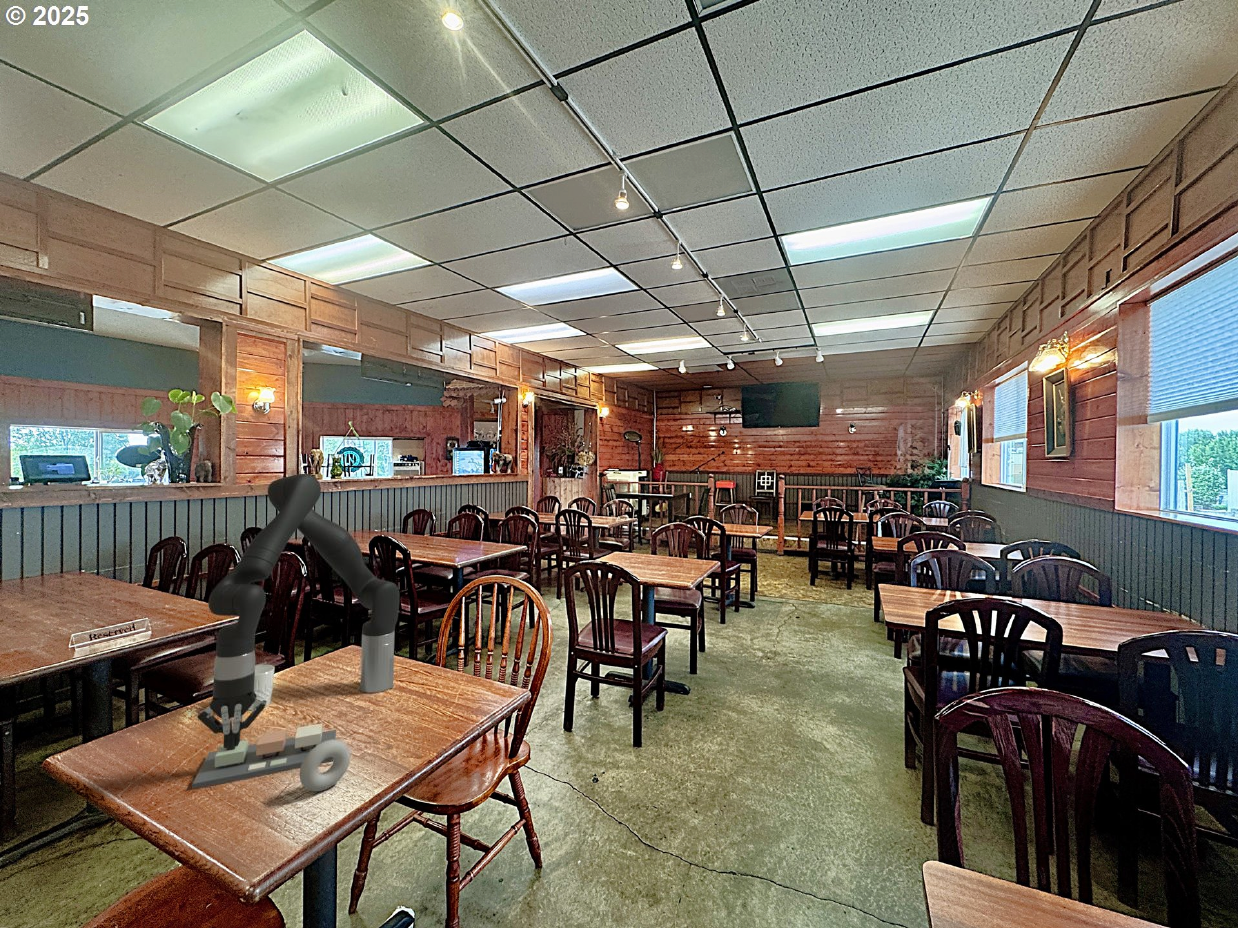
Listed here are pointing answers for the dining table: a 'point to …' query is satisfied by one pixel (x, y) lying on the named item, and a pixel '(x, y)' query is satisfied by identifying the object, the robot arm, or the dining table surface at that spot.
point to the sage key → (231, 754)
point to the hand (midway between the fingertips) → (231, 747)
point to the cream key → (308, 736)
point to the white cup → (263, 683)
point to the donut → (316, 756)
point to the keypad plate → (255, 764)
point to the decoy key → (271, 743)
